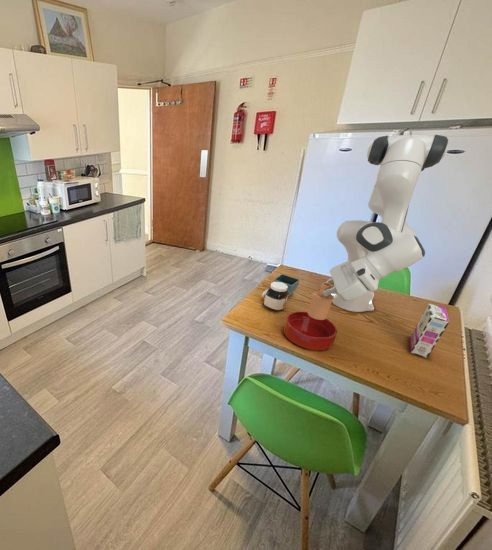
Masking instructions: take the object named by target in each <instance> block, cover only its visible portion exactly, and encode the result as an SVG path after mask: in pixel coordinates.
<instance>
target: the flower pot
mask: <svg viewBox="0 0 492 550" xmlns="http://www.w3.org/2000/svg"><path fill="white" fill-rule="evenodd" d="M300 281H301V279H299V278H296V277H294V276H293V277H292V276H289V275H287V274H284V273H282V274H281V273H280V275H278V276H276V277H275V278H274V279H273V282H281V283H284V284H286V285H287V286H288V288H287V290H288V298H289V297H290V296H291V295H293V294H294V293H295V291H296V290H297V288H298V286H299V283H300Z"/></svg>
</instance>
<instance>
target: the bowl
mask: <svg viewBox="0 0 492 550" xmlns="http://www.w3.org/2000/svg"><path fill="white" fill-rule="evenodd" d="M283 334H284V335H285V337H286V338H287V339H288V340H289V342H291V343H293V344H295V345H296V346H298V347H301V348H304V349H306V350H311V351H325V350H329V349H330V348H332V347H333V345H334V342H335V339H336V337H337V334H338V328H337V326H336V325H335V324H334V323H333V322H332V321H331V320H329V319H328V318H326V319H324V320H318V319H314V318H312V317H310V316H309V315H308V311H293V312H290V313H288V314H287V316H286V318H285V321H284V325H283Z"/></svg>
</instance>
